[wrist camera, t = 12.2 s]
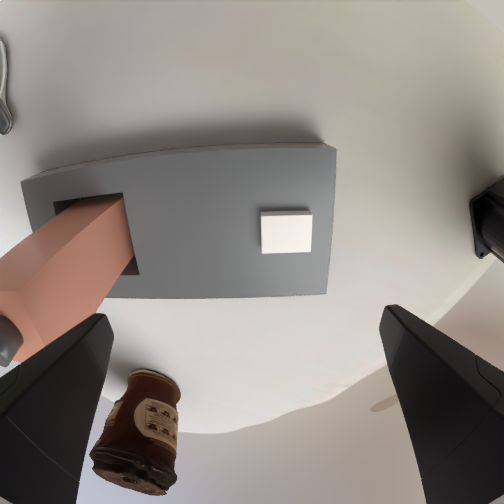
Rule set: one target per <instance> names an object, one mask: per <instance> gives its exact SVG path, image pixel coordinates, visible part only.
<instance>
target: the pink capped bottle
mask: <svg viewBox="0 0 504 504" xmlns="http://www.w3.org/2000/svg"><path fill="white" fill-rule="evenodd" d="M134 254H135V252H134V248H133V243H132V239H131V234H130V229H129V224H128V219H127V213H126V208H125V202H124V196H123V193H118V194H111V195H103V196H96V197H90V198H83V199H81V200H79V201H78V202H76V203H75V204H73V205H72V206H70V207H69V208H67V209H66V210H64V211H63V212H61V213H60V214H58V215H57V216H55V217H54V218H52V219H51V220H50V221H48V222H47V223H45V224H44V225H43V226H41V227H40V228H39V229H37V230H36V231H34V232H33V233H32V234H30V235H29V236H28V237H26V238H25V239H24V240H23V241H21V242H20V243H19V244H17V245H16V246H15V247H14V248H12V249H11V250H10V251H9V252H8V253H6V254H5V255H4V256H3V257H1V258H0V365H1V366H3V367H7V366H8V365H9V364H10V362H11V361H12V360H14V361H18V362H21V363H22V362H23V361H25V360H26V359H28V358H29V357H31V356H32V355H33V354H35V353H36V352H38V351H39V350H41V349H42V348H43V347H45V346H46V345H48V344H49V343H51V342H52V341H54V340H55V339H57V338H58V337H60V336H61V335H62V334H64V333H65V332H67V331H68V330H70V329H71V328H73V327H74V326H76V325H77V324H79V323H80V322H82V321H83V320H85V319H86V318H88V317H89V316H91V315H92V314H94V313H95V312H96V311H97V309H98V308H99V306H100V304H101V303H102V301H103V300H104V298H105V297H106V295H107V294H108V292H109V291H110V289H111V288H112V286H113V285H114V283H115V282H116V280H117V279H118V277H119V276H120V274H121V273H122V271H123V270H124V269H125V267H126V266H127V264H128V263H129V261H130V260H131V259H132V257H133V256H134Z"/></svg>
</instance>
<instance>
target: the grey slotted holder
mask: <svg viewBox="0 0 504 504" xmlns="http://www.w3.org/2000/svg"><path fill="white" fill-rule="evenodd" d="M335 179H336V149H335V148H333V147H331V146H329V145H327V144H325V143H253V144H230V145H214V146H201V147H189V148H179V149H170V150H161V151H153V152H145V153H138V154H131V155H124V156H118V157H112V158H106V159H100V160H95V161H90V162H84V163H79V164H75V165H70V166H65V167H61V168H56V169H52V170H48V171H44V172H41V173H39V174H36V175H34V176H32V177H30V178H27V179H25V180H23V181H21V186H22V191H23V196H24V200H25V204H26V209H27V213H28V217H29V220H30V224H31V228H32V231H33V232H34V231H36V230H37V229H39V228H40V227H41V226H43V225H44V224H45V223H47V222H48V221H50V220H51V219H52V218H54V217H55V216H57V215H58V214H60V213H61V212H63V211H64V210H66V209H67V208H69V207H70V206H72V205H73V204H75V203H76V202H75V198H82V197H89V196H97V195H104V194H112V193H121V192H123V196H124V202H125V208H126V213H127V219H128V224H129V229H130V234H131V239H132V243H133V248H134V252H135V256H133V257H132V259H131V260H130V261H129V263H128V264H127V266H126V267H125V269H124V270H123V271H122V273H121V274H120V276H119V277H118V279H117V280H116V282H115V283H114V285H113V286H112V288H111V289H110V291H109V292H108V294H107V295H106V297H105V298H141V299H206V298H252V297H280V296H302V295H320V294H326V291H327V282H328V273H329V263H330V253H331V241H332V229H333V215H334V199H335Z"/></svg>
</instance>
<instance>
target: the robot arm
mask: <svg viewBox="0 0 504 504" xmlns="http://www.w3.org/2000/svg"><path fill="white" fill-rule="evenodd" d="M474 204H475V206H474ZM470 210H471V216H472V223H473V230H474V238H475V247H476V256H477V257H478V258H479V259H482V258H483V257H485V256H486V255H488V254H489V253H490V252H491V253H492V254H494V255H495V256H496V257H497V258H498V259H500V260H501V261H502V262H503V263H504V179H503V180H501V181H499V182H498V183H496V184H494V185H493V186H491V187H490V188H488V189H487V190H486V191H484V192H483V193H481V194H480V195H478V196H476V197H475V198H473V199H472V200H471V201H470ZM379 331H380V336H381V339H382V343H383V348H384V352H385V356H386V360H387V365H388V368H389V372H390V375H391V378H392V381H393V384H394V387H395V389H396V393H397V396H398V399H399V402H400V405H401V408H402V411H403V414H404V418H405V421H406V424H407V428H408V431H409V434H410V438H411V441H412V445H413V448H414V452H415V456H416V460H417V464H418V468H419V472H420V476H421V478H422V479H421V481H422V485H423V489H424V494H425V498H426V503H427V504H504V372H503V371H501V370H499V369H498V368H496V367H495V366H493V365H491V364H490V363H488V362H487V361H485V360H483V359H482V358H481V357H479V356H477V355H475V353H473V352H471V351H470V350H468V349H467V348H465V347H464V346H462V345H461V344H459V343H458V342H456V341H455V340H453V339H452V338H450V337H448V336H447V335H445V334H444V333H442V332H441V331H439V330H437V329H436V328H434V327H433V326H431V325H430V324H428V323H426V322H425V321H423V320H422V319H420V318H418V317H417V316H415V315H414V314H412V313H410V312H409V311H407V310H406V309H404V308H402V307H401V306H399V305H397V304H394V305H387V306H385V308H384V311H383V314H382V318H381V322H380V326H379ZM113 340H114V334H113V331H112V328H111V326H110V323H109V320H108V318H107V316H106V315H105V314H101V313H94V314H92V315H91V316H89V317H88V318H86V319H85V320H83V321H82V322H80V323H79V324H77V325H76V326H74V327H73V328H71V329H70V330H68V331H67V332H65V333H64V334H62V335H61V336H60V337H58V338H57V339H55V340H54V341H52V342H51V343H49V344H48V345H46V346H45V347H43V348H42V349H41V350H39V351H38V352H36V353H35V354H33V355H32V356H31V357H29V358H28V359H26V360H25V361H23V362H22V363H21V365H18V366H16V367H15V368H14V369H12V370H11V371H9V372H8V373H6V374H5V375H4V376H2V377H0V504H76V500H77V494H78V488H79V481H80V476H81V471H82V466H83V462H84V457H85V452H86V448H87V444H88V440H89V435H90V431H91V427H92V423H93V420H94V415H95V412H96V409H97V405H98V401H99V398H100V394H101V391H102V388H103V384H104V381H105V377H106V373H107V368H108V363H109V358H110V354H111V349H112V344H113Z"/></svg>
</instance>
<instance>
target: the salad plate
mask: <svg viewBox="0 0 504 504" xmlns="http://www.w3.org/2000/svg"><path fill="white" fill-rule="evenodd" d="M6 79H7V60H6V47H5V45H4V43H3V42H2V40H1V39H0V134H2V135H6V134H7V133H9V131H10V130H11V128H12V116H11V114H10V111H9V110H8V108H7V105H6V98H5V91H6Z"/></svg>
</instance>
